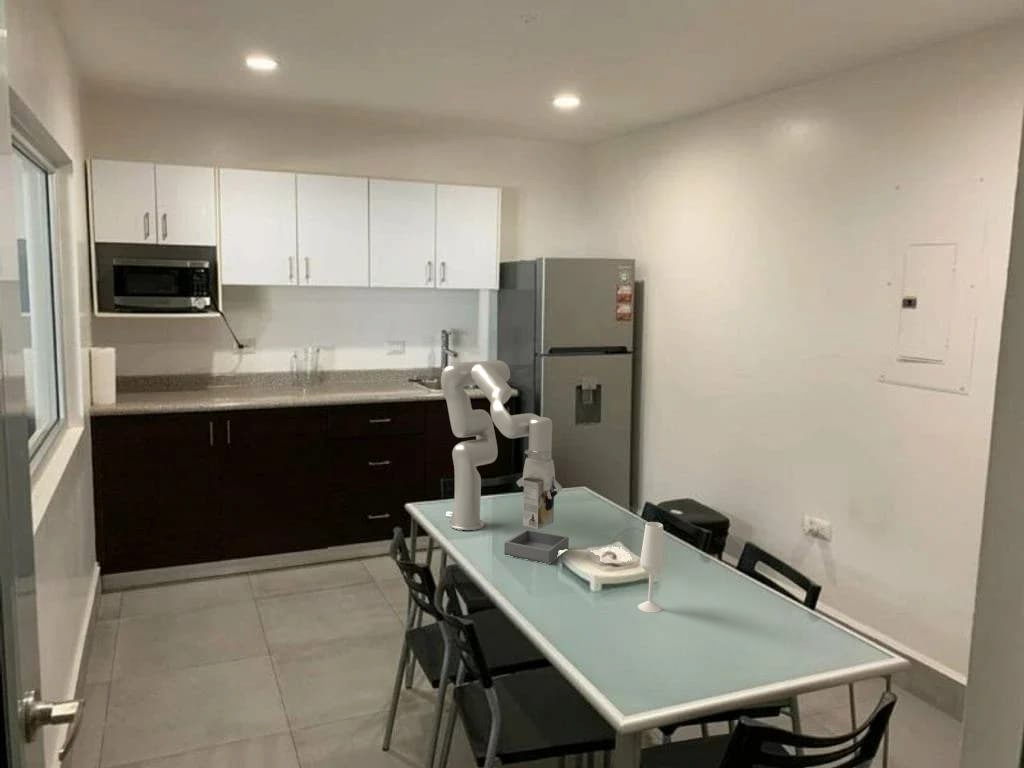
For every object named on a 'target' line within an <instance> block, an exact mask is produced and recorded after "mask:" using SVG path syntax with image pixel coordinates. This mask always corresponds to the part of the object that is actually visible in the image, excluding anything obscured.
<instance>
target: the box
mask: <svg viewBox="0 0 1024 768" xmlns="http://www.w3.org/2000/svg"><path fill="white" fill-rule="evenodd" d="M569 539H570V538H569V536H565V535H559V534H553V533H549V532H544V531H537V530H534V529H529V528H525V529H524V530H522V531H521V532H519V533H517V534H516V535H513V537H511V538H509V539H507V540H506V541H505V542H504V549H503V550H504V552H503V554H505V555H510V556H513V557H512V558H514V557H517V558H516V559H518V558H522V559H521V560H523V559H528V560H533V561H537V562H536V563H538V562H542V563H546V564H545V565H547V564H549V563H550V562H552V561H553V560H554V559H555V558H557V555H558V551H559V550H564V549H568V550H569V544H570V543H569ZM557 559H558V558H557ZM528 560H527V561H528ZM533 561H532V562H533ZM554 561H555V560H554ZM554 561H553V562H554ZM553 562H552V563H553ZM542 563H541V564H542ZM550 564H551V563H550ZM550 564H549V565H550Z"/></svg>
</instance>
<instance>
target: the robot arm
mask: <svg viewBox="0 0 1024 768" xmlns="http://www.w3.org/2000/svg"><path fill="white" fill-rule="evenodd" d="M510 377H511V370H510V367H509V366H508V364H507V363H506V362H504V361H503V360H484V361H481V360H480V361H466V362H462V361H461V362H455V363H450V364H449V365H447V366H446V367H444V369H443V371H442V372H441V376H440V385H441V386H440V387H441V390H442V392H443V395H444V398H445V400H446V405H447V411H448V416H449V422H450V427H451V431H452V433H453V435H454V436H455V437H456V438H470V437H471V438H472V437H475V439H471V440H470V439H469V440H464V441H461V442H459V443H457V444H456V445H455V446H454V447H453V449H452V452H451V455H452V461H453V463H452V464H453V466H454V467H453V469H454V502H453V503H454V505H453V507H454V508H453V509H454V510H453V511H452V510H451V511H450V510H447V511H446V513H445V518H446V519H447V518H448V519H451V520H450V522H449V526H450V528H451V529H453V528H454V530H456V529H457V530H456V531H462V530H473V531H478V530H481V529H483V528H484V527H485V522H484V520H482V519H481V500H482V498H481V495H482V494H481V492H482V491H481V489H482V478H481V474H480V473H479V471H478V469H477V467H479V466H485V465H488V464H492V463H494V462H495V461H496V460H497V458H498V453H499V452H498V443H497V438H496V432H495V429H494V428H495V427H496V428H497V429H498V431H499V432H500V433H501V434H502V435H503V437H506V438H508V439H518V438H523V437H528V448H527V449H525V450H524V454H525V455H527V457H526V458H525V461H524V465H523V472H522V477H520V478H519V479H518V480H517V481H516V485H517V486H518V487H519V490H521V492H522V495H524V478H533V479H539V480H543V491H546V494H547V496H548V498H547V500H546V510H547V511H549V510H551V509H552V507H553V497H554V498H555V497H556V496H557V495H558V494H559V493H560V492H561V490H563V487H562V485H561V484H560V483H559V482H558V481H557V480H556V471H555V464H554V459H552V446H553V445H552V444H553V443H552V442H553V441H552V439H553V421H552V419H551V418H549V417H545V416H539V415H537V414H535V413H531V412H530V413H520V414H513V415H511V414H510V413H509V411H508V410H507V409H506V407H505V405H504V404H506V403H507V402H508V401H509V399H510V398H511V396H512V394H513V389H512V388H511V387H510V385H509V384H508V381H509V379H510ZM475 385H476V386H477V387H478V388H479V389H480V391H481V392H482V393H483V394H484V396H485V397H486V398H487V400H488V401H489V402H490V414H489V412H487V411H486V410H485V409H480V408H479V409H473V408H472V403H471V399H470V396H469V395H468V393H467V391H465V389H464V388H463V387H467V386H475ZM494 426H495V427H494ZM553 488H554V492H553V490H552V489H553ZM477 529H478V530H477Z"/></svg>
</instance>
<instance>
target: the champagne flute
mask: <svg viewBox="0 0 1024 768" xmlns="http://www.w3.org/2000/svg"><path fill="white" fill-rule="evenodd" d="M644 525H645V526H644V531H643V532H644V533H643V539H642V548H641V554H640V559H639V560H640V561H639V562H640V563H639V564H640V565H641V568H642V569H643V570H644V571H645V572H646V574H648V576H649V578H648V592H647V593H648V595H647V596H648V597H647V600H646V601H643V602H642V603H639V604H638V605H637V608H638V609H639V610H641V611H643V612H644V613H659V612H661V611H662V610H663V608H662V606H661V605H660V604H658V603H656V602H655V601H653V599H654V598H653V594H654V593H653V592H654V578H655V577H654V576H655V575H656V574H658V573H659V572H660V571H662V569H664V566H665V563H666V562H665V544H664V542H665V541H664V539H665V538H664V525H663V524H662V523H661V522H657V521H656V522H655V521H649V522H648V521H647V522H646V523H645V524H644Z"/></svg>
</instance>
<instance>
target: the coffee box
mask: <svg viewBox="0 0 1024 768" xmlns="http://www.w3.org/2000/svg"><path fill="white" fill-rule="evenodd" d="M552 490H553V492H554V491H555V487H554V488H553V489H552ZM522 497H523V505H522V509H523V511H522V512H523V513H522V515H523V516H522V526H524V527H528V528H532V529H536V530H539V529H542V528H544V527H547V526H549V525H551V524H553V523H554V517H555V515H554V514H555V512H554V511H555V509H554V508H555V497H553V507H552V509H551V510H549V511H547V510H546V500H547V498H548V496H547V494H546V491H543V480H539V479H533V478H524V494H523V496H522Z"/></svg>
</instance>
